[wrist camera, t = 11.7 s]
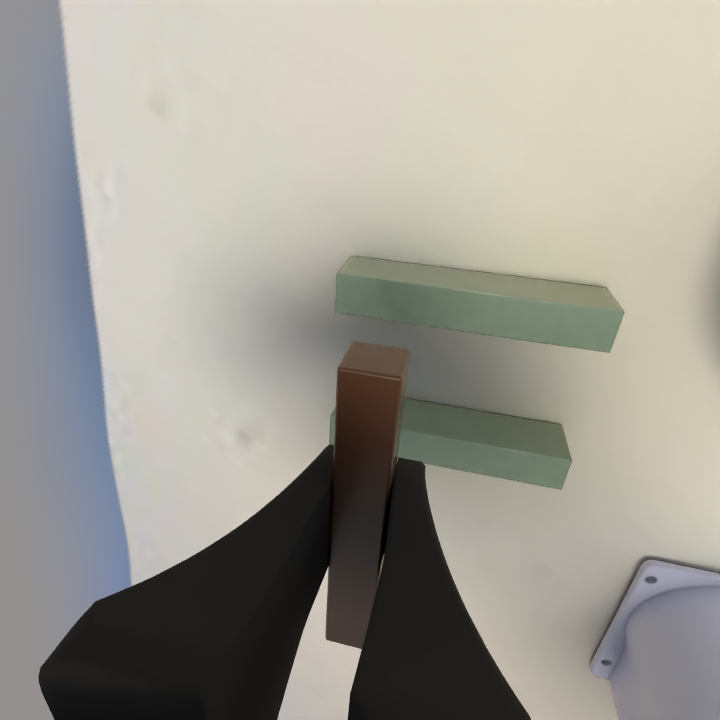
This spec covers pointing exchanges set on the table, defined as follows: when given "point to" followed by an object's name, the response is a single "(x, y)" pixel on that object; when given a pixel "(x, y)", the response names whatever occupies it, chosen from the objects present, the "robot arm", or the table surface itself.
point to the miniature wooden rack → (489, 317)
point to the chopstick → (362, 482)
